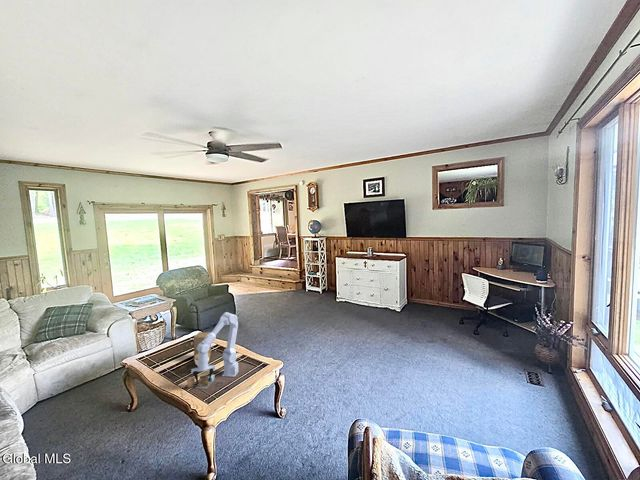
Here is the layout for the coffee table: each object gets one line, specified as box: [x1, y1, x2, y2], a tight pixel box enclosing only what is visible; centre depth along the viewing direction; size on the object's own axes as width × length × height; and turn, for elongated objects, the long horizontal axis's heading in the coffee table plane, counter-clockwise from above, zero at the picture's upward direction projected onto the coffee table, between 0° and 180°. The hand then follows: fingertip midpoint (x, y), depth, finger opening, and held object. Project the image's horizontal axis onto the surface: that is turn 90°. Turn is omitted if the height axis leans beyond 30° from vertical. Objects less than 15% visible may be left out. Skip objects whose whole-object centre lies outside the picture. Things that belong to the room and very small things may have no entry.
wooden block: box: [193, 331, 212, 362], centre depth 225 cm, size 10×10×20 cm
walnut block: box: [198, 374, 209, 387], centre depth 188 cm, size 5×5×5 cm
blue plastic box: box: [208, 374, 216, 383], centre depth 194 cm, size 3×4×3 cm
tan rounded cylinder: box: [186, 376, 196, 389], centre depth 187 cm, size 4×4×5 cm
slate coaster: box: [194, 381, 213, 390], centre depth 188 cm, size 8×8×1 cm
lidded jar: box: [193, 353, 211, 367], centre depth 215 cm, size 11×11×9 cm
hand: (203, 381), depth 188 cm, fingers open, 7 cm apart
